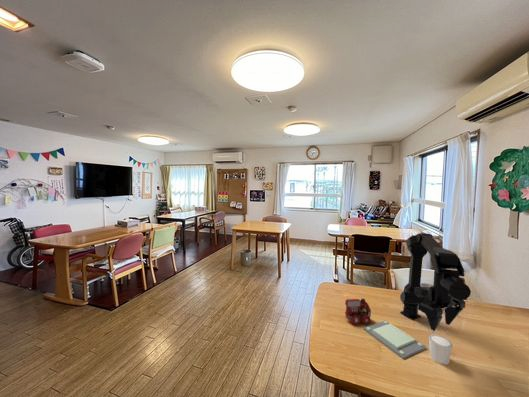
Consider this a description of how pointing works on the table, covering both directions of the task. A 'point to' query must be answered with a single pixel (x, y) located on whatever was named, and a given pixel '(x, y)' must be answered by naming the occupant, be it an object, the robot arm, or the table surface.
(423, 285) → the coffee mug
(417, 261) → the robot arm
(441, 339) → the shot glass
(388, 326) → the baseplate
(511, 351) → the table surface
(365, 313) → the toy fire truck
